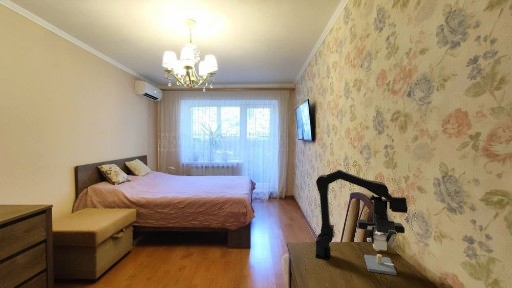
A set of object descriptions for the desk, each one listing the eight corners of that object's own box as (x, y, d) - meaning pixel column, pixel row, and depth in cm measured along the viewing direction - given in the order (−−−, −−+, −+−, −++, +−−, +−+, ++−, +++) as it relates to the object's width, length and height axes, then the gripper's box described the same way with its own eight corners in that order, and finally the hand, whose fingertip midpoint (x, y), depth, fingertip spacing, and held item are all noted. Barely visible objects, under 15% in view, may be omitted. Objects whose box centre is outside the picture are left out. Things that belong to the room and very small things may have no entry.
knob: (374, 248, 110) (374, 235, 110) (372, 244, 115) (372, 230, 115) (386, 250, 109) (387, 236, 108) (384, 245, 113) (384, 232, 113)
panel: (368, 271, 107) (368, 260, 107) (364, 257, 120) (364, 247, 120) (397, 275, 104) (397, 264, 104) (390, 260, 117) (390, 250, 116)
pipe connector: (391, 255, 121) (391, 235, 121) (369, 254, 123) (370, 234, 123) (385, 246, 131) (385, 228, 130) (365, 245, 133) (365, 226, 132)
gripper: (359, 214, 106) (359, 249, 107) (409, 218, 101) (408, 255, 101) (357, 206, 117) (356, 239, 117) (401, 210, 111) (400, 244, 112)
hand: (379, 244), depth 112 cm, fingers closed on knob, 5 cm apart
